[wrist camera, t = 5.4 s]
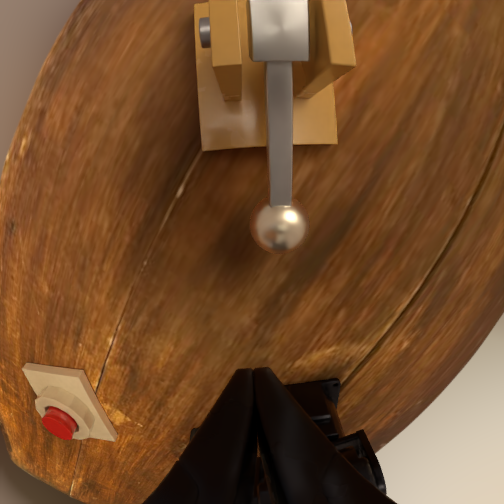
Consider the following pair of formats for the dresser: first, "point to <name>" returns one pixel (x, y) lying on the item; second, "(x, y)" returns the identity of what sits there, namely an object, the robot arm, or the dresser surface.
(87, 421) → the button block
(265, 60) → the tap lever
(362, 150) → the dresser surface
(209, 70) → the tap bracket
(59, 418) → the button
